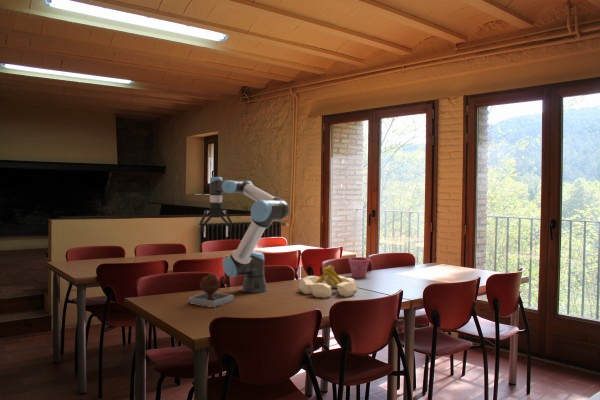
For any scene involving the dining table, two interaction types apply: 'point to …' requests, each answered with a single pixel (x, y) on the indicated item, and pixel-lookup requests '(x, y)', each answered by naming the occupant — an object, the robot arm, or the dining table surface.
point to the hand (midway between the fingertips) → (215, 237)
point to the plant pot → (358, 267)
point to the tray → (202, 300)
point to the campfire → (328, 284)
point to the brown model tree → (210, 285)
